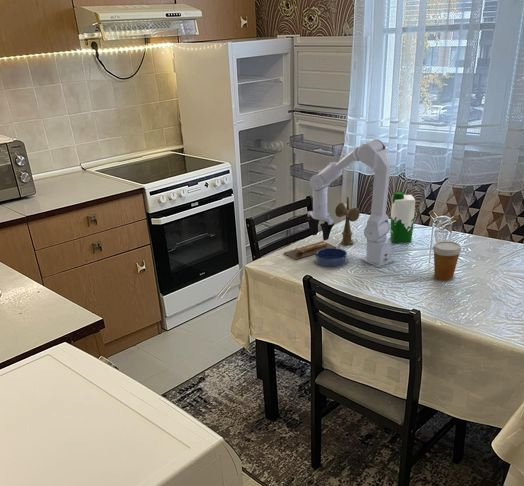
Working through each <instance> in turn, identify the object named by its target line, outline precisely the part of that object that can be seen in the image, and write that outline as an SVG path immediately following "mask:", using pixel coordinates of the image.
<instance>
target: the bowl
mask: <svg viewBox="0 0 524 486" xmlns="http://www.w3.org/2000/svg"><path fill="white" fill-rule="evenodd" d="M314 256H315V257H314V258H315V259H314V260H315V264H317V265H318V266H320V267H324V268H337V267H341V266H344V265H345V264H347V262H348V252H347V251H346V250H345V249H342V248H339V247H336V248H326V249H321V250H319V251H317V252H316V253H315V255H314Z"/></svg>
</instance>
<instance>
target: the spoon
mask: <svg viewBox="0 0 524 486" xmlns="http://www.w3.org/2000/svg"><path fill="white" fill-rule="evenodd" d="M325 242H326V241H324V243H320V244H317V245H313V246H309V247H305V246H304V247H305V248H301V247H295V250H296V251H299V252H304V251H307V250H311V249H315V248H318V247H322V246H326V243H327V242H326V243H325ZM299 248H301V249H299Z"/></svg>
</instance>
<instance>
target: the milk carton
mask: <svg viewBox="0 0 524 486" xmlns="http://www.w3.org/2000/svg"><path fill="white" fill-rule="evenodd" d="M415 211H416V199H415V197H414V196H413V194H405V192H404V191H401V190H400V191H399V190H398V191H394V192H393V195H392V196H391V211H390V230H389V232H390V239H391V241H392V243H393V244H404V243H412V238H413V232H414V222H415Z"/></svg>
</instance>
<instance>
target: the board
mask: <svg viewBox="0 0 524 486" xmlns="http://www.w3.org/2000/svg"><path fill="white" fill-rule="evenodd" d="M324 242H325V243H326V246H322V247H318V248H315V249H311V250H307V251H304V252H299V251H296V250H295V249H291V250H287V251H285V252H283V255H285V256H287V257H289V258H291V259H293V260H295V261H298V260H302V259H305V258H308V257H311V256H315V253H316V252H317V251H319V250H321V249H326V248H337V246H335V245H332V244H330V243H329V242H326V241H325V240H322V241H319V242H315V243H311V244H308V245H304V246H301V247H298V248H299V249H301V248H305V247H309V246H313V245H317V244H320V243H324Z"/></svg>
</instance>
